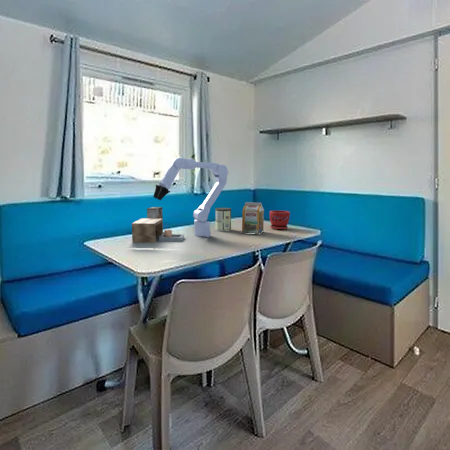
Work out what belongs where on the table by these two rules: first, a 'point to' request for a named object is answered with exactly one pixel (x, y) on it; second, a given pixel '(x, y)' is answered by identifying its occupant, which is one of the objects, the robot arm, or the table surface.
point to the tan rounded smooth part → (167, 233)
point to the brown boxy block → (147, 230)
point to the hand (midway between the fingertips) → (156, 198)
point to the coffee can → (223, 219)
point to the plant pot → (279, 219)
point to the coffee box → (155, 213)
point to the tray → (174, 237)
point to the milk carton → (252, 218)
